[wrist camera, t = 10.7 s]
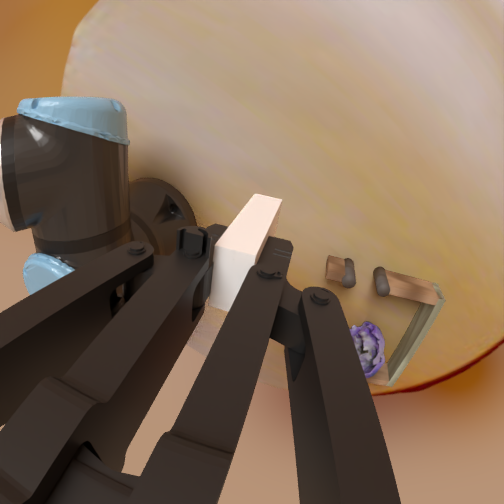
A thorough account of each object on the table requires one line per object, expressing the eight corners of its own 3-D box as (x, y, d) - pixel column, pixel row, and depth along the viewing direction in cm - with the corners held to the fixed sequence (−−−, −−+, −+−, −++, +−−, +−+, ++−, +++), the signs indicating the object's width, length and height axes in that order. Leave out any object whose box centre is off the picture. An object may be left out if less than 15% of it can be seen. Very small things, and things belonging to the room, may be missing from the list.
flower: (413, 368, 41) (367, 374, 38) (378, 379, 48) (332, 384, 45) (403, 313, 46) (357, 311, 43) (370, 329, 53) (326, 329, 50)
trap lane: (296, 350, 53) (292, 370, 49) (329, 253, 44) (328, 270, 39) (389, 369, 51) (391, 390, 46) (438, 282, 41) (447, 301, 37)
